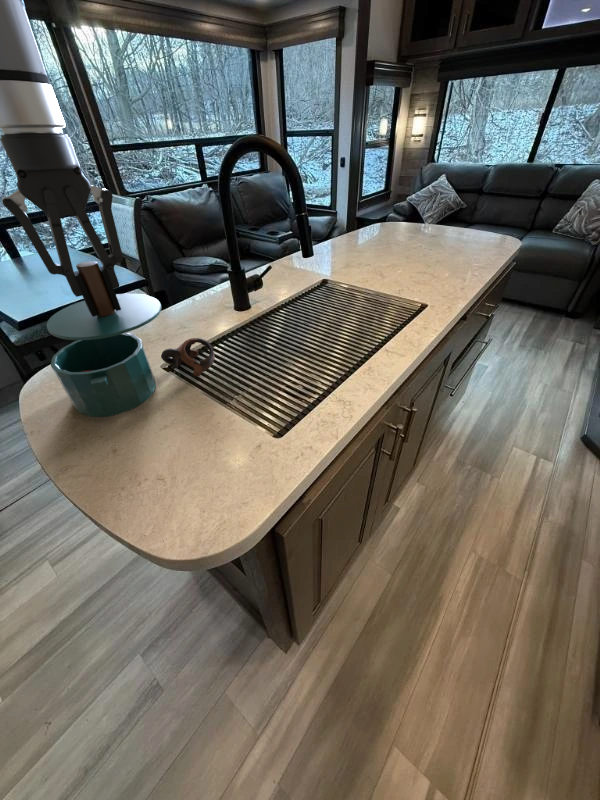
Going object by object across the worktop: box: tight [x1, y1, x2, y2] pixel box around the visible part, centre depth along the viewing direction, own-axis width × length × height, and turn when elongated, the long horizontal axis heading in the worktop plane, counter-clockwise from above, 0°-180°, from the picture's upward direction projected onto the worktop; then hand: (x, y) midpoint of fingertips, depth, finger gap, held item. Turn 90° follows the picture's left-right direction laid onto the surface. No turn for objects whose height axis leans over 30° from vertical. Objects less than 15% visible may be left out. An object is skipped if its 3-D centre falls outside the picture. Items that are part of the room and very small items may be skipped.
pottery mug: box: [160, 337, 216, 377], centre depth 79 cm, size 12×10×8 cm
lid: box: [46, 260, 162, 341], centre depth 54 cm, size 18×18×9 cm
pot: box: [50, 332, 157, 418], centre depth 71 cm, size 17×22×10 cm
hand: (105, 310), depth 56 cm, fingers closed on lid, 3 cm apart
